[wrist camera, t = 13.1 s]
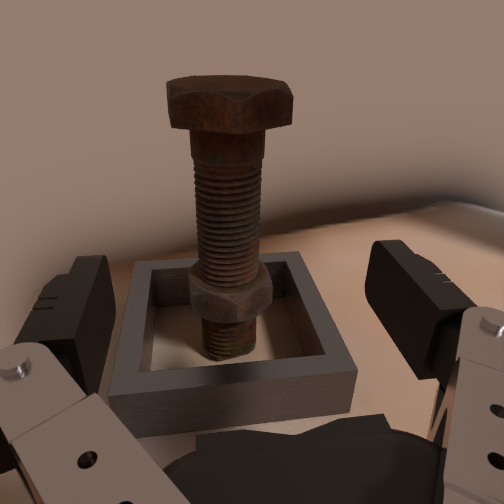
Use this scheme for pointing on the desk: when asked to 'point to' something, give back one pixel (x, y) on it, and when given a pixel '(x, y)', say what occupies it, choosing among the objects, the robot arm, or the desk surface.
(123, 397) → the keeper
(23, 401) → the robot arm
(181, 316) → the desk surface
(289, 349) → the desk surface
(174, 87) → the bolt
